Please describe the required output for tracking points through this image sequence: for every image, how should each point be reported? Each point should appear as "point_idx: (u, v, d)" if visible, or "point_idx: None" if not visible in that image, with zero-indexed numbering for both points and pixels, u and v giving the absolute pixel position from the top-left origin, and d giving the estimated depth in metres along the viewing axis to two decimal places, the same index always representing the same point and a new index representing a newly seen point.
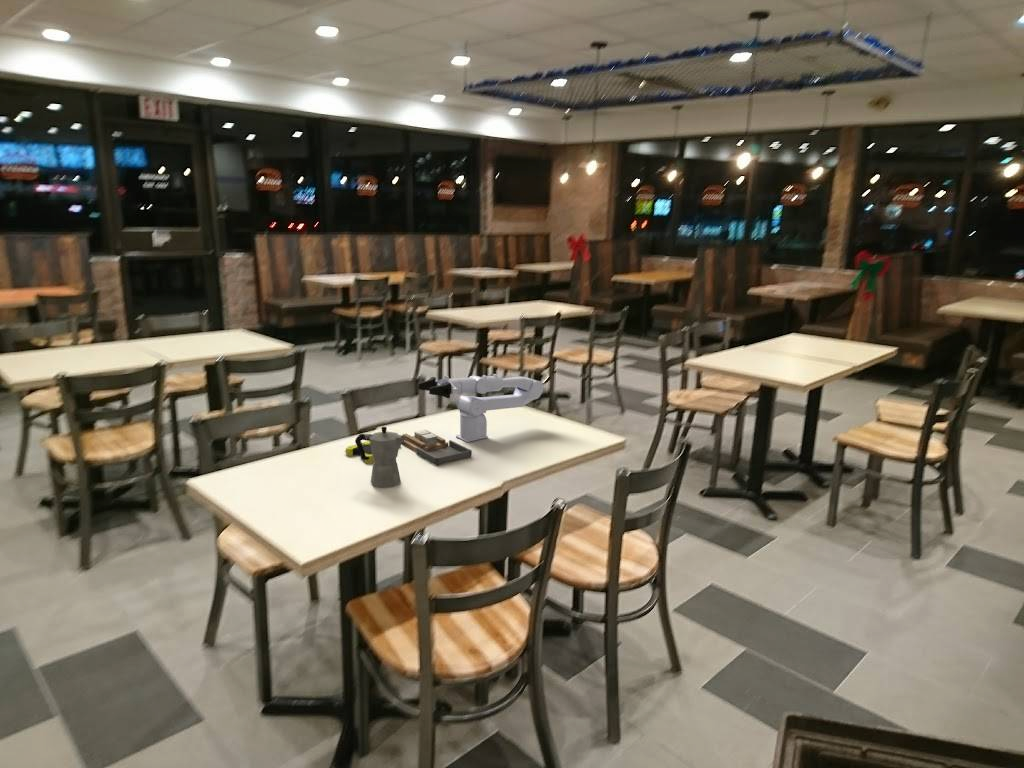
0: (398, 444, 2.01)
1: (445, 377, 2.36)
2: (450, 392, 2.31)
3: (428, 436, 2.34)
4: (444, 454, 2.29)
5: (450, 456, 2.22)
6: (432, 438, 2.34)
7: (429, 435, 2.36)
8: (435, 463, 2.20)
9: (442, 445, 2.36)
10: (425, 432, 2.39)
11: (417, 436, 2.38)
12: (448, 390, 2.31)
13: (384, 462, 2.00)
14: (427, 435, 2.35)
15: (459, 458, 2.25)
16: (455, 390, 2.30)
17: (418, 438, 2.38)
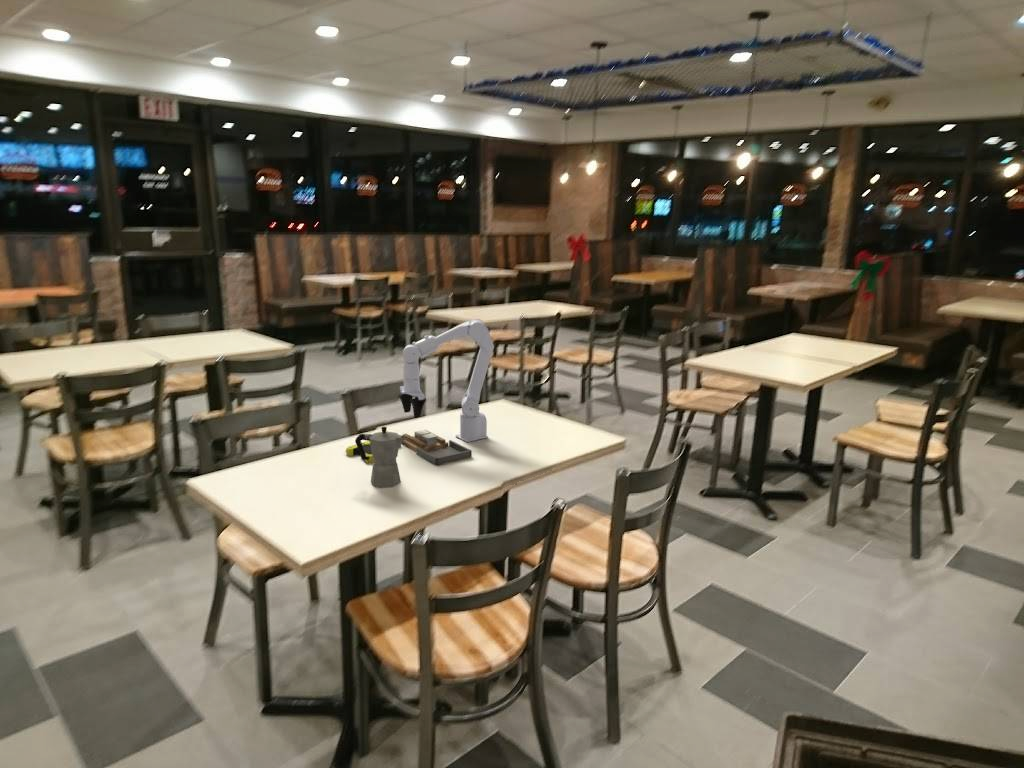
0: (398, 444, 2.01)
1: None
2: None
3: (428, 436, 2.34)
4: (444, 454, 2.29)
5: (450, 456, 2.22)
6: (432, 438, 2.34)
7: (429, 435, 2.36)
8: (435, 463, 2.20)
9: (442, 445, 2.36)
10: (425, 432, 2.39)
11: (417, 436, 2.38)
12: (419, 400, 2.37)
13: (384, 462, 2.00)
14: (427, 435, 2.35)
15: (459, 458, 2.25)
16: (420, 397, 2.35)
17: (418, 438, 2.38)
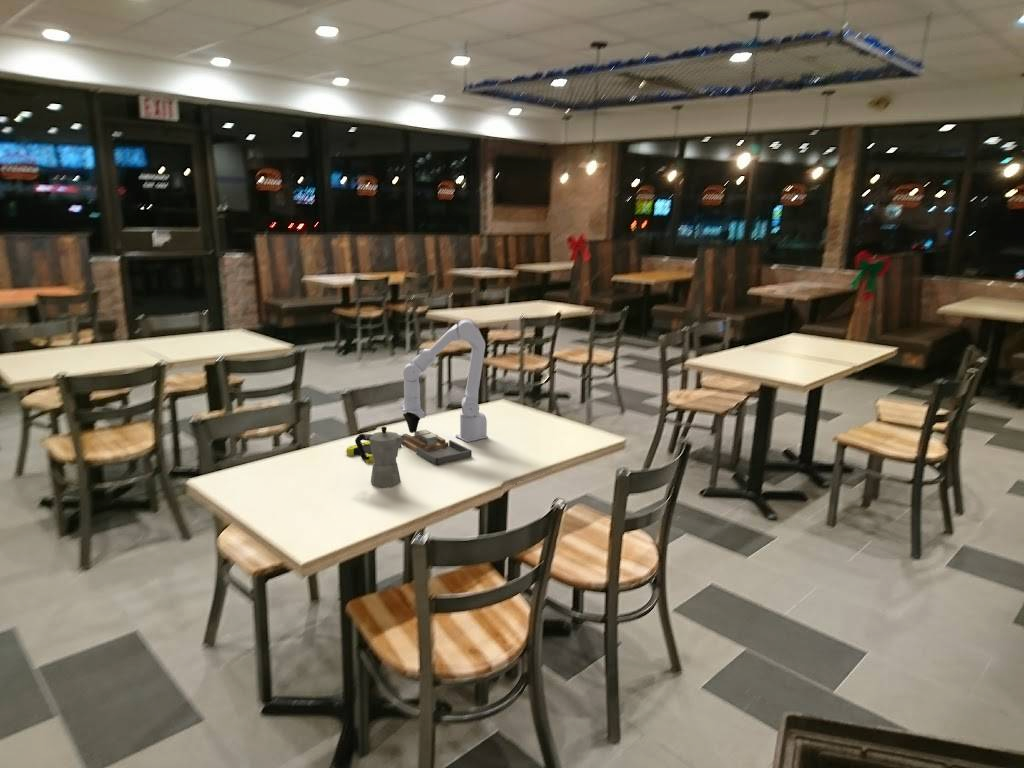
0: (398, 444, 2.01)
1: None
2: (417, 415, 2.41)
3: (428, 436, 2.34)
4: (444, 454, 2.29)
5: (450, 456, 2.22)
6: (432, 438, 2.34)
7: (429, 435, 2.36)
8: (435, 463, 2.20)
9: (442, 445, 2.36)
10: (425, 432, 2.39)
11: (417, 436, 2.38)
12: None
13: (384, 462, 2.00)
14: (427, 435, 2.35)
15: (459, 458, 2.25)
16: (421, 415, 2.37)
17: (418, 438, 2.38)
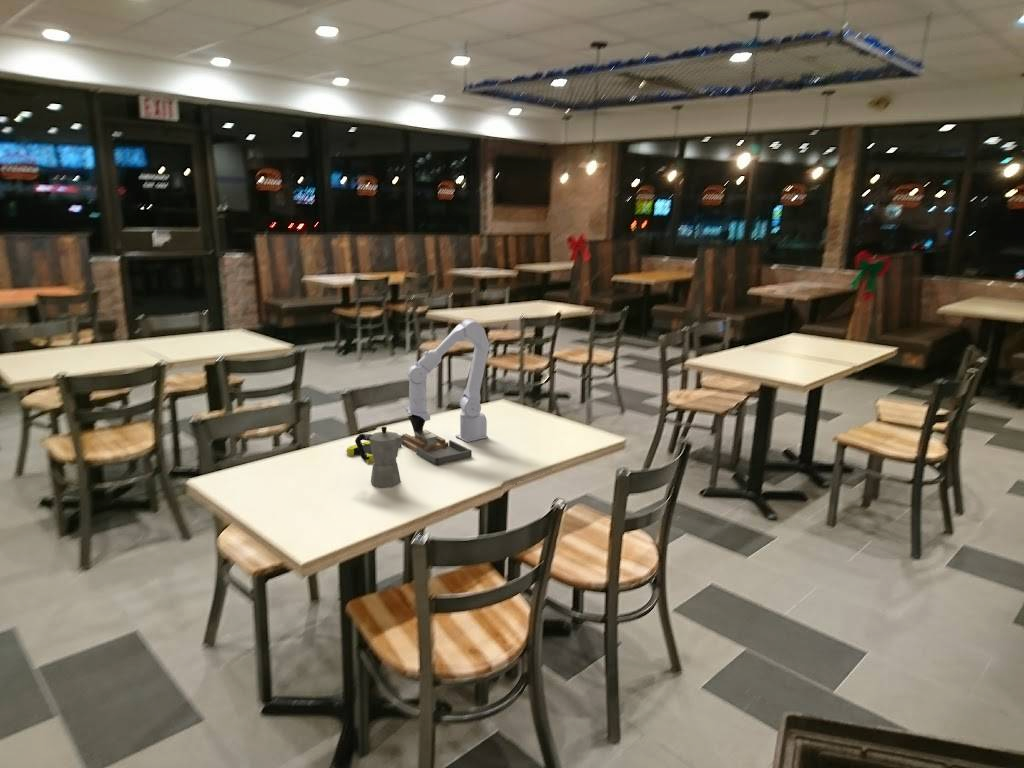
0: (398, 444, 2.01)
1: None
2: (422, 418, 2.38)
3: (428, 436, 2.34)
4: (444, 454, 2.29)
5: (450, 456, 2.22)
6: (432, 438, 2.34)
7: (429, 435, 2.36)
8: (435, 463, 2.20)
9: (442, 445, 2.36)
10: (425, 432, 2.39)
11: (417, 436, 2.38)
12: None
13: (384, 462, 2.00)
14: (427, 435, 2.35)
15: (459, 458, 2.25)
16: (426, 418, 2.34)
17: (418, 438, 2.37)
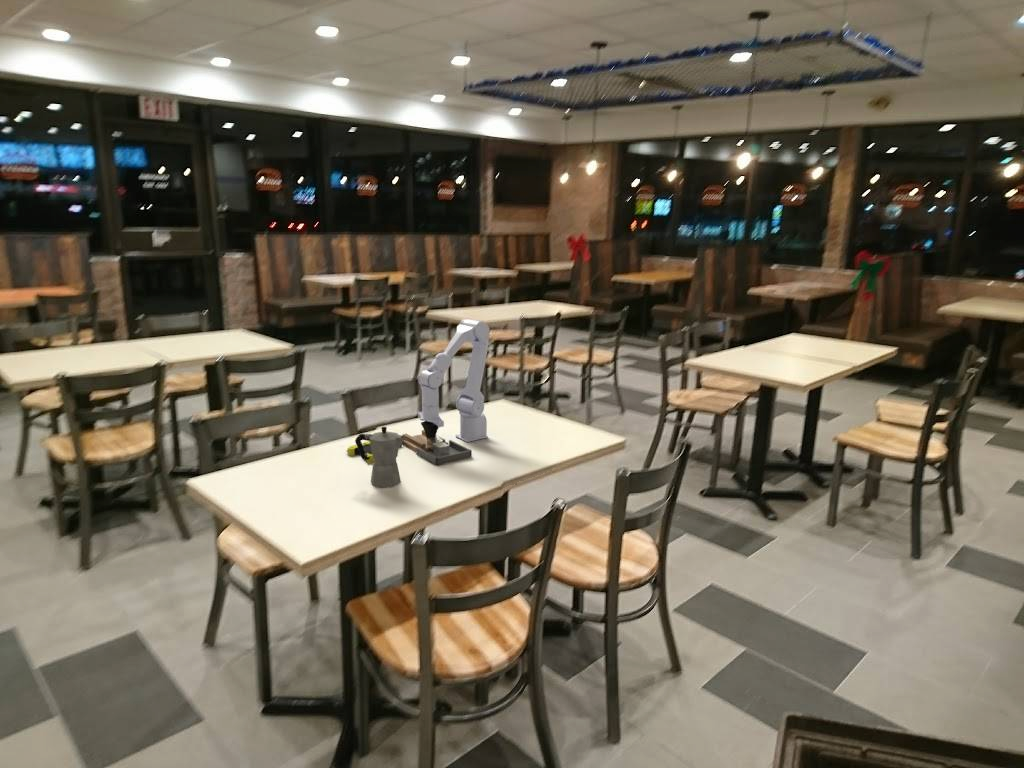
0: (398, 444, 2.01)
1: None
2: None
3: (440, 445, 2.28)
4: None
5: (450, 456, 2.22)
6: (444, 447, 2.28)
7: (441, 444, 2.30)
8: (435, 463, 2.20)
9: None
10: (438, 440, 2.32)
11: (430, 443, 2.31)
12: None
13: (384, 462, 2.00)
14: (439, 444, 2.29)
15: (459, 458, 2.25)
16: (440, 424, 2.27)
17: (431, 446, 2.31)
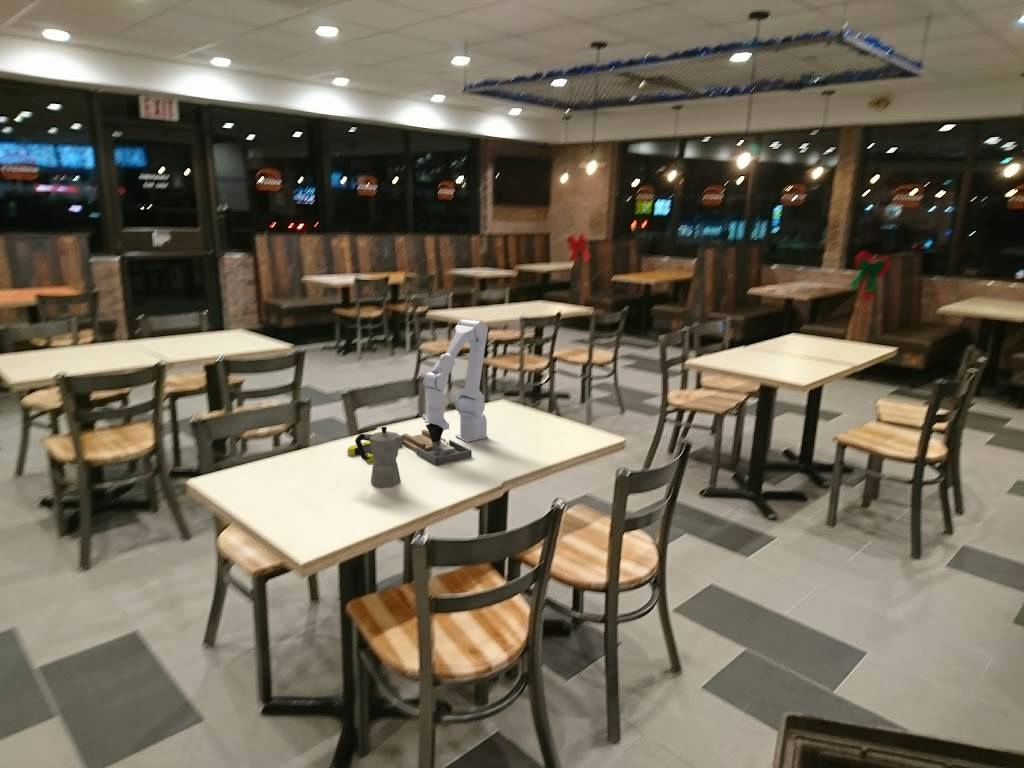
0: (398, 444, 2.01)
1: None
2: (440, 426, 2.29)
3: (445, 448, 2.26)
4: None
5: (450, 456, 2.22)
6: (450, 450, 2.25)
7: (446, 447, 2.27)
8: (435, 463, 2.20)
9: None
10: (443, 443, 2.29)
11: (435, 447, 2.29)
12: None
13: (384, 462, 2.00)
14: (445, 447, 2.27)
15: (459, 458, 2.25)
16: (445, 427, 2.24)
17: (436, 449, 2.28)
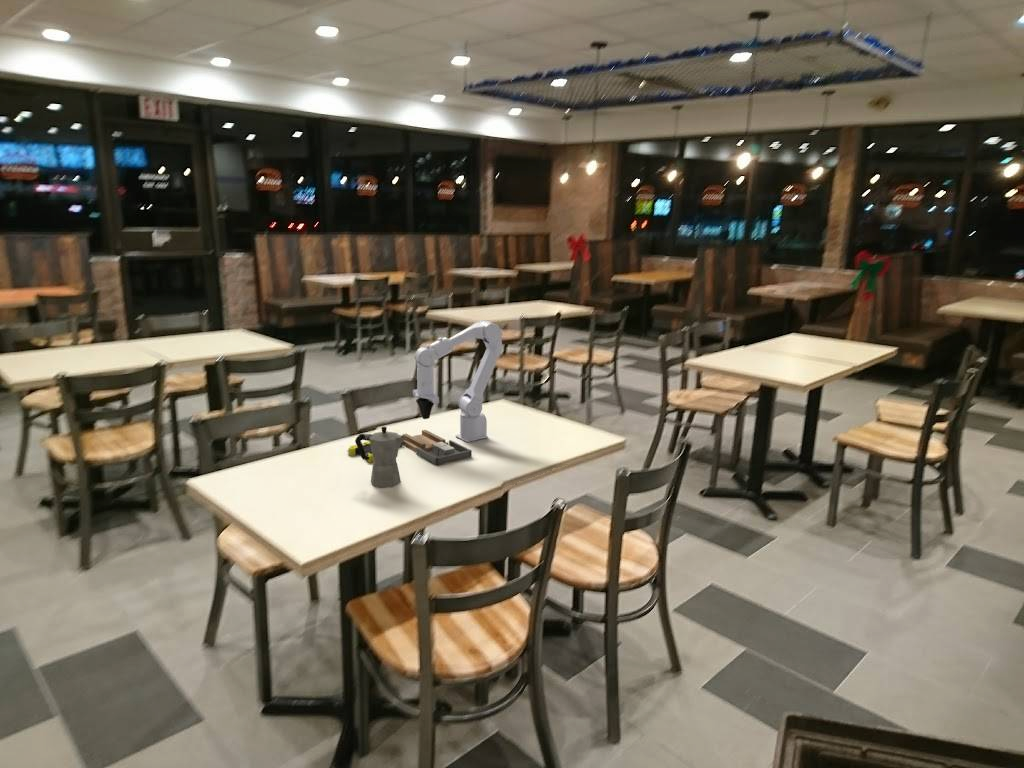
0: (398, 444, 2.01)
1: None
2: (430, 401, 2.35)
3: (445, 448, 2.26)
4: None
5: (450, 456, 2.22)
6: (450, 450, 2.25)
7: (446, 447, 2.27)
8: (435, 463, 2.20)
9: None
10: (442, 444, 2.30)
11: (434, 448, 2.29)
12: None
13: (384, 462, 2.00)
14: (445, 447, 2.27)
15: (459, 458, 2.25)
16: (435, 400, 2.31)
17: (436, 450, 2.29)
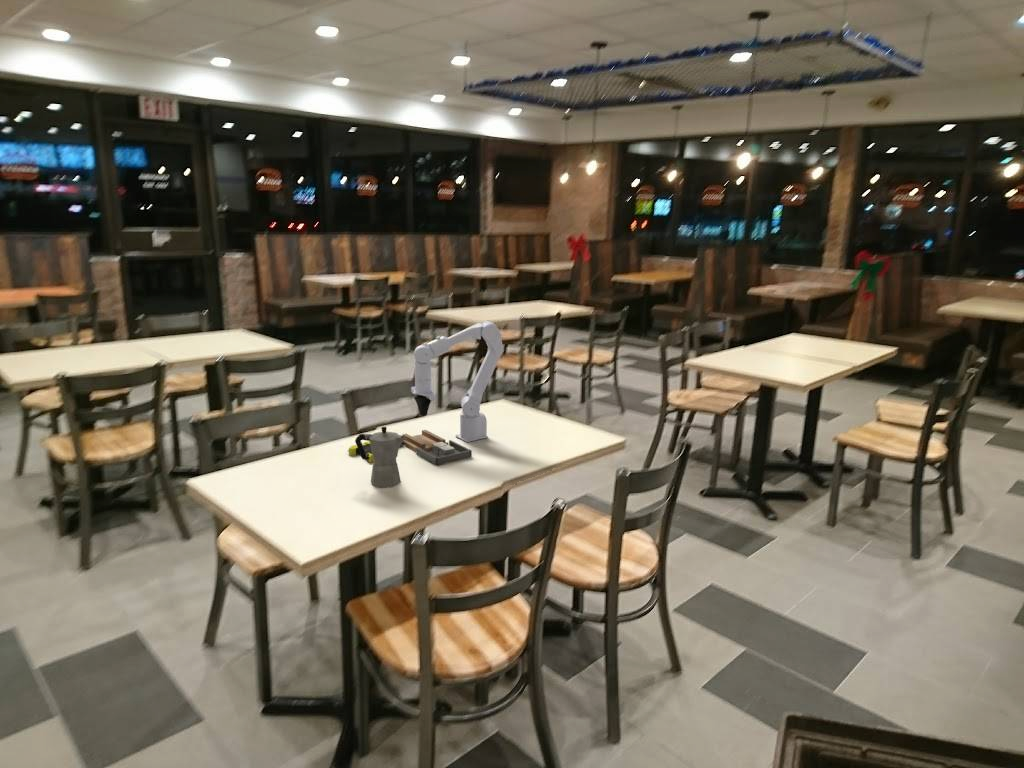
0: (398, 444, 2.01)
1: None
2: None
3: (445, 448, 2.26)
4: None
5: (450, 456, 2.22)
6: (450, 450, 2.25)
7: (446, 447, 2.27)
8: (435, 463, 2.20)
9: None
10: (442, 444, 2.30)
11: (434, 448, 2.29)
12: None
13: (384, 462, 2.00)
14: (445, 447, 2.27)
15: (459, 458, 2.25)
16: (432, 397, 2.35)
17: (436, 450, 2.29)
